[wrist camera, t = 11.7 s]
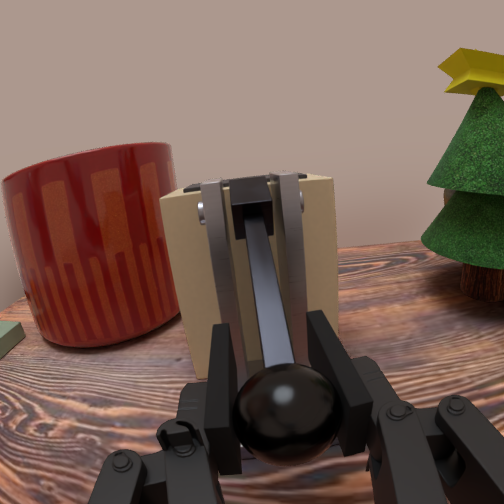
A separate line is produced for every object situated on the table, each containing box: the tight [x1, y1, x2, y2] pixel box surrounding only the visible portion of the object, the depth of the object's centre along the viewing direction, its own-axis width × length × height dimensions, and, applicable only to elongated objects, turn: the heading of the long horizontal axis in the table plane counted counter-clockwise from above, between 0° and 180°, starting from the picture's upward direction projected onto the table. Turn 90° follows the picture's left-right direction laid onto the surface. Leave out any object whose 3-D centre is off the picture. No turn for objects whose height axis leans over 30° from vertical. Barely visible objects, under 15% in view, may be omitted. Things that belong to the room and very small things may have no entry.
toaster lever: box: [229, 176, 343, 466], centre depth 14 cm, size 15×4×4 cm, turn 3°
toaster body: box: [159, 173, 338, 379], centre depth 27 cm, size 8×12×15 cm, turn 93°
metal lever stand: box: [197, 171, 339, 459], centre depth 20 cm, size 12×9×16 cm
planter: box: [1, 142, 180, 348], centre depth 37 cm, size 23×23×20 cm
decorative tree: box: [421, 48, 504, 302], centre depth 27 cm, size 19×19×30 cm
